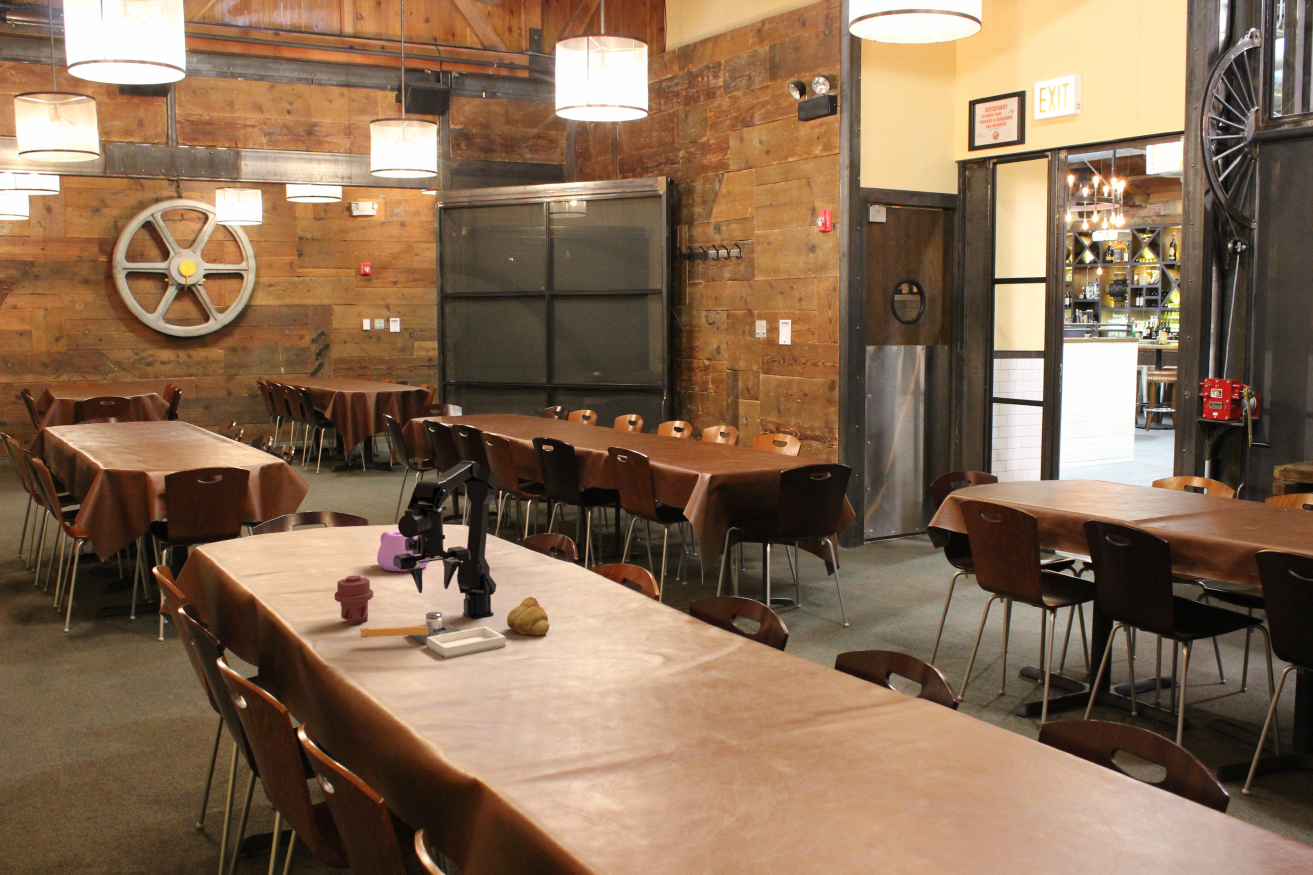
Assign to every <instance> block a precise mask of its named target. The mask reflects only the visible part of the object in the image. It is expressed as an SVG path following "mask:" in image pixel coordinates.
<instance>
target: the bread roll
mask: <svg viewBox="0 0 1313 875" xmlns="http://www.w3.org/2000/svg"><path fill="white" fill-rule="evenodd" d="M506 623H507V626H508V628H510V630H513V631H515V632H517V633H519V634H520V635H521V634H522V635H532V636H540V635H545V634H547V632H548V631H549V630H550V627H551V626H550V624H549V623H550V622H549V616H548V614H547V612H546V611H545V610H544V608H543V607H541V606H540V603H539V601H538V600H537V599H536V598H535V597H532V596H529V597H526V598H524V599H523V600H522V602H521V603H520V605H519V606H516V607H515V608H513V609H512V610H510V612H509V613H508V614H507V619H506Z"/></svg>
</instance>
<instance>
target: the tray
mask: <svg viewBox="0 0 1313 875" xmlns="http://www.w3.org/2000/svg"><path fill="white" fill-rule="evenodd" d="M426 647H427V648H428V649H430V650H431V651H432V652H435V653H436V654H438V655H440V656H441V657H443V658H444V659H449V658H454V657H458V656H463V655H469V654H474V653H479V652H485V651H489V650H495V649H501V648H504V647H506V636H505V635H503V634H502V633H499V632H497V631H495V630H494V629H491V628H490V627H488V626H486V625H485V626H479V627H474V628H470V629H464V630H461V631H457V632H452V633H447V634H441V635H436V636H430V637H427V644H426Z"/></svg>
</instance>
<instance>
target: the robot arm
mask: <svg viewBox="0 0 1313 875" xmlns="http://www.w3.org/2000/svg"><path fill="white" fill-rule="evenodd" d="M462 484H463V485H464V486H465V494H466V496H467V498H468V500H469V503H470V510H469V511H470V513H469V525H468V531H467V532H468V535H467V546H466V547H464V546H461V545H460V546H452V547H448V548H447V550H444V540H446V535H445V534H444V524H443V523H444V521H443V518H444V517H443V514H444V513H443V512H445V511H447V507H446V506H445V505H444V502H445V501H446V500H447V499H449V497H450V492H451V491H452V490H454V489H455V488H457V487H459V486H460V485H462ZM498 486H499V477H497V475H496V473H495V472H493V471H492V470H490V469H487V468H486V467H483V466H481V465H480V464H479V463H478V462H476V461H472V460H461V461H458V462H457V464H456V465H454V466H453V467H451V468H450V469H448V470H447V471H444V472H443V473H442V474H440V475H438V476H437V477H432V478H426V479H422V480H420V481H418V482H417V483H416V485H415V487H414V488H413V491H412V494H411V497H410V500H409V502H408V505H407V509H406V510H404V515H403V516H402V517H401V518H400V519H399V520H398V524H397V529H398V530H399V532H400V533H401V534H402V535H403V536H404V537H406V538H407V539H405V549H406V551H413V555H415V554H421V555H420V556H413V555H411V554H409V553H407V554H399V555H395V557H394V559H393V566H395V567H397V568H399V569H401V570H405V569H406V570H408V572H409V573H410V575H411V576H412V579H413V581H414V584H415V586H416V589H417V591H418V593H419V594H422V593H423V568H420V567H419V563H423V562H429V563H431V562H436V561H437V562H438V561H442V564H443V586H444V587H443V589H444V590H448V588H449V586H450V584H451V581H452V579H453V577H454V575H455V573H456V571H457V573H456V574H457V575H456V582H457V585H458V589H459V593H460V594H464V599H463V612H462V614H463V615H465V616H466V617H469V618H471V619H472V620H473V619H478V618H483V617H490V616H494V615H495V614H494V612H492V603H491V602H492V601H491V599H492V595H494V594H495V592H496V591H497V590H496V589H497V583H496V582H495V581H494V579H493V578H492V577H491V575H490V570H491V568H490V566H489V563H488V561H487V558H486V548H487V546H486V545H487V535H488V534H487V533H488V523H489V522H488V521H489V510H490V504H491V503H492V501H493V500H494V499H495V497H496V495H497V489H498ZM415 536H418V540H414V538H412V537H415ZM425 558H426V559H425ZM427 558H428V559H427Z"/></svg>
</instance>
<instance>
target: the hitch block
mask: <svg viewBox="0 0 1313 875" xmlns="http://www.w3.org/2000/svg"><path fill="white" fill-rule="evenodd" d="M419 626H426V624H422V625H421V624H420V625H417V626H415V627H419ZM457 631H462V630H461V629H459V628H458V627H456V626H454V625H452V624H450V623H448V622H447V621H442V631H437V632H433V635H408V636H409V637H410V638H412V639H414V640H415V641H417V642H419V643H420V644H422V645H423V646H424V645H426V646H427V637H430V636H436V635H441V634H447V633H452V632H457Z"/></svg>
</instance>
